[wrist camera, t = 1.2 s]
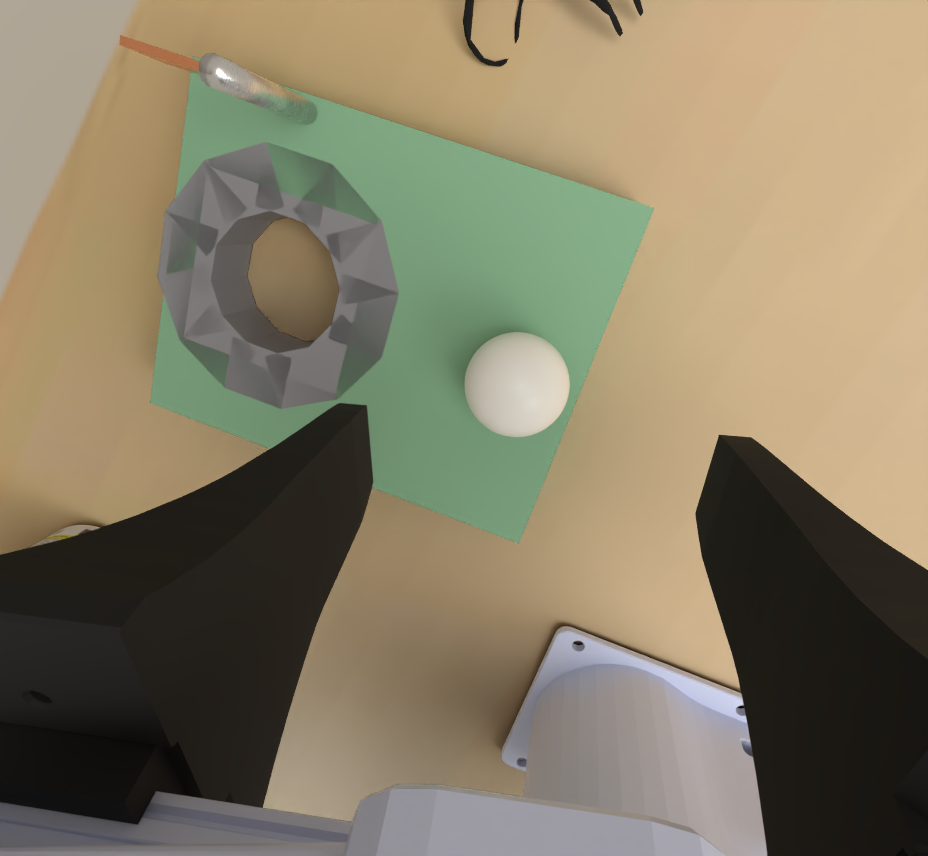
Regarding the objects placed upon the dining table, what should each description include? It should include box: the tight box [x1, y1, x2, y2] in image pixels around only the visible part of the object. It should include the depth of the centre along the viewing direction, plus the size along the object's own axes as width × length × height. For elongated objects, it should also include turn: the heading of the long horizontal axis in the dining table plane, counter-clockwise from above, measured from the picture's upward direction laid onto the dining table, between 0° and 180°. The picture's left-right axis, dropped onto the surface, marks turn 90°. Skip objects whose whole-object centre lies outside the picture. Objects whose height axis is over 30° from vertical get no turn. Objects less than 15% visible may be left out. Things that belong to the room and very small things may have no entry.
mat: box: [150, 56, 654, 544], centre depth 21 cm, size 15×12×2 cm
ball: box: [464, 332, 570, 437], centre depth 18 cm, size 3×3×3 cm
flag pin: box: [120, 35, 318, 125], centre depth 16 cm, size 3×1×5 cm, turn 72°
